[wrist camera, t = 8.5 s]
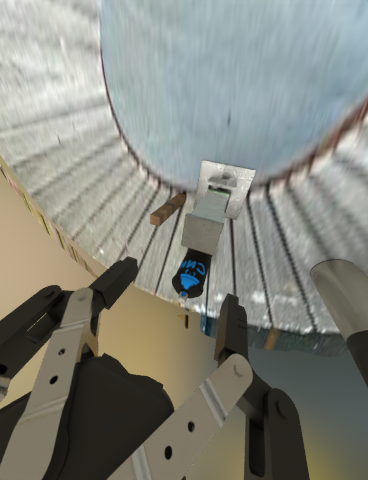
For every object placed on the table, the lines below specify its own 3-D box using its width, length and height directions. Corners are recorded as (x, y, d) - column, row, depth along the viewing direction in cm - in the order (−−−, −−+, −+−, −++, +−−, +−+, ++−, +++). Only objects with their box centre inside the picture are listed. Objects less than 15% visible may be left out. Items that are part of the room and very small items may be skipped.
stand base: (255, 170, 31) (258, 175, 26) (236, 218, 38) (235, 230, 33) (203, 160, 34) (195, 162, 28) (194, 207, 41) (186, 217, 35)
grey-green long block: (231, 191, 28) (223, 225, 16) (224, 212, 31) (213, 255, 19) (209, 186, 29) (185, 215, 17) (204, 207, 32) (180, 245, 20)
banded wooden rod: (186, 194, 39) (159, 217, 27) (185, 201, 41) (159, 226, 28) (179, 192, 40) (150, 214, 27) (178, 200, 41) (150, 223, 28)
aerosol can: (211, 261, 49) (197, 316, 33) (188, 256, 51) (165, 305, 35) (215, 242, 44) (200, 295, 29) (190, 237, 46) (163, 283, 31)
